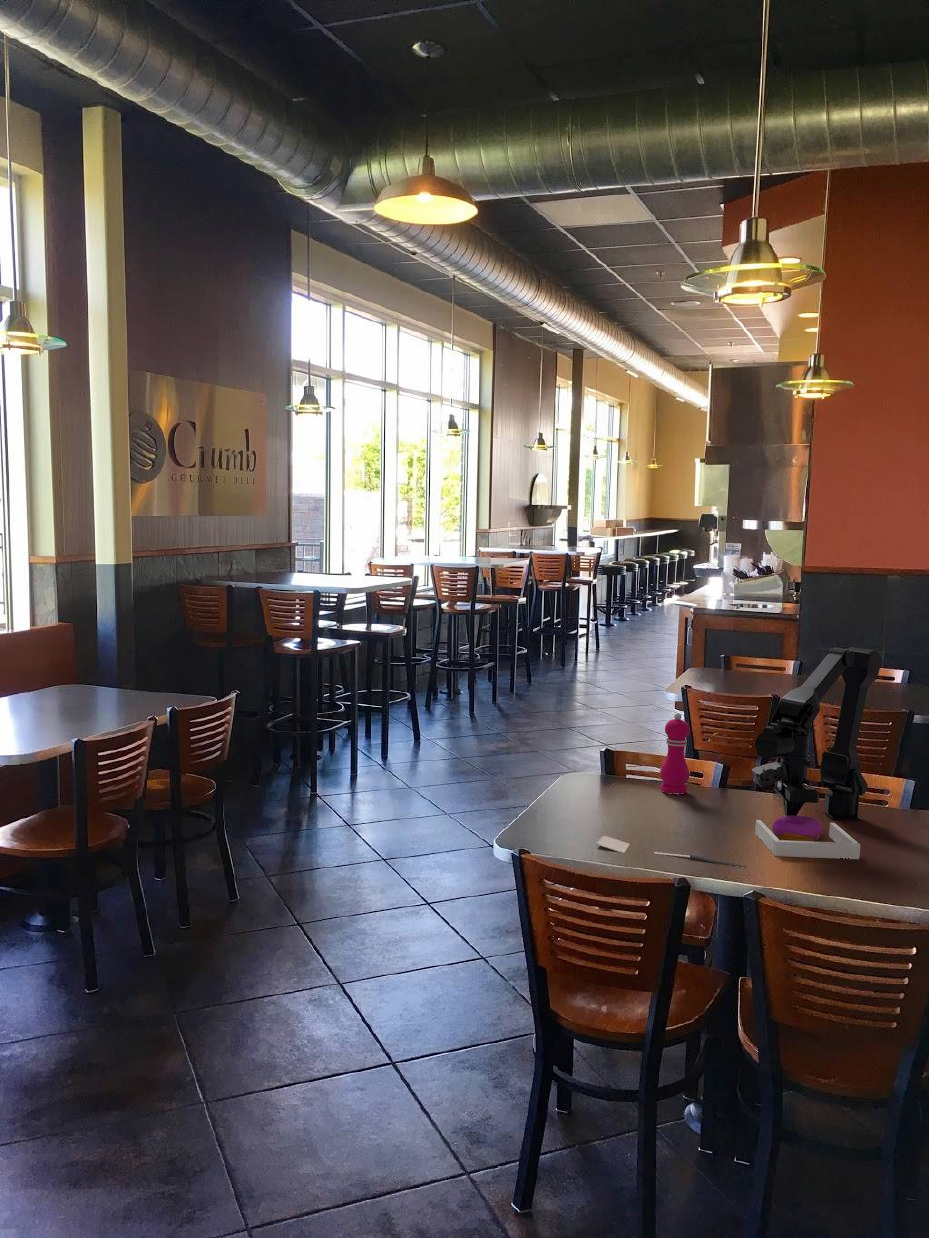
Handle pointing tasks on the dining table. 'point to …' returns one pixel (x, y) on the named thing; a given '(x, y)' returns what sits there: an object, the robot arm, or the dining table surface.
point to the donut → (797, 828)
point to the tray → (811, 844)
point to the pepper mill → (675, 757)
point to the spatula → (622, 847)
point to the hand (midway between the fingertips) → (789, 822)
